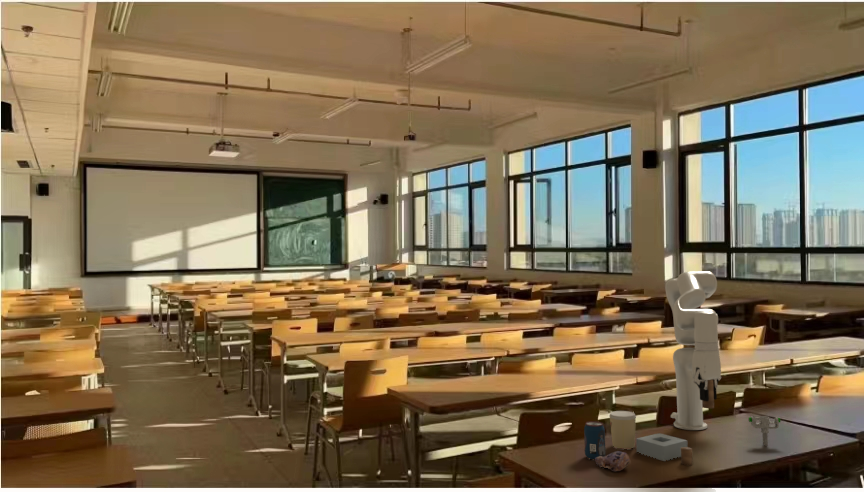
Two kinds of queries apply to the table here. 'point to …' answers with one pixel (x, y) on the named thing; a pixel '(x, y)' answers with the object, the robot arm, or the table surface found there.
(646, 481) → the table surface
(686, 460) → the short dowel
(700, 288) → the robot arm
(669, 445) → the hole block
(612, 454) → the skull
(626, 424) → the coffee cup
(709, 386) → the long dowel
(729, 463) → the table surface
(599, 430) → the soda can
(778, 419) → the mechanical component
